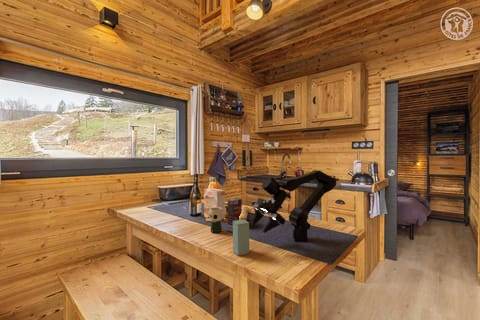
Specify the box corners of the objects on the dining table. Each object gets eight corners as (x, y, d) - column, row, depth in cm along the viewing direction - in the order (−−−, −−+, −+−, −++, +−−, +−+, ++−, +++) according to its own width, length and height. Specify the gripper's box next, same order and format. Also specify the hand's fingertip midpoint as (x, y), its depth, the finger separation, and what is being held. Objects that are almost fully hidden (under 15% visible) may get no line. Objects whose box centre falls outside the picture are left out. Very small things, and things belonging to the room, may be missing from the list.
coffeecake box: (203, 217, 155) (203, 189, 154) (212, 215, 160) (211, 187, 159) (217, 221, 144) (216, 191, 144) (225, 219, 149) (225, 190, 149)
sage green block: (244, 247, 102) (243, 219, 102) (249, 252, 97) (249, 222, 97) (233, 249, 100) (232, 220, 100) (238, 254, 95) (237, 224, 95)
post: (244, 248, 103) (244, 238, 103) (251, 253, 97) (250, 243, 97) (231, 250, 100) (231, 241, 100) (237, 256, 94) (237, 246, 94)
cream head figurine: (204, 232, 125) (204, 209, 125) (212, 228, 131) (211, 206, 131) (220, 235, 120) (220, 211, 119) (227, 231, 126) (227, 208, 126)
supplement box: (233, 227, 131) (233, 201, 131) (227, 226, 134) (227, 200, 134) (242, 224, 138) (242, 198, 138) (236, 222, 141) (235, 197, 141)
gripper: (255, 186, 111) (237, 212, 107) (279, 196, 95) (258, 227, 91) (268, 199, 116) (251, 224, 112) (293, 210, 100) (274, 240, 96)
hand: (258, 228), depth 103 cm, fingers open, 9 cm apart
